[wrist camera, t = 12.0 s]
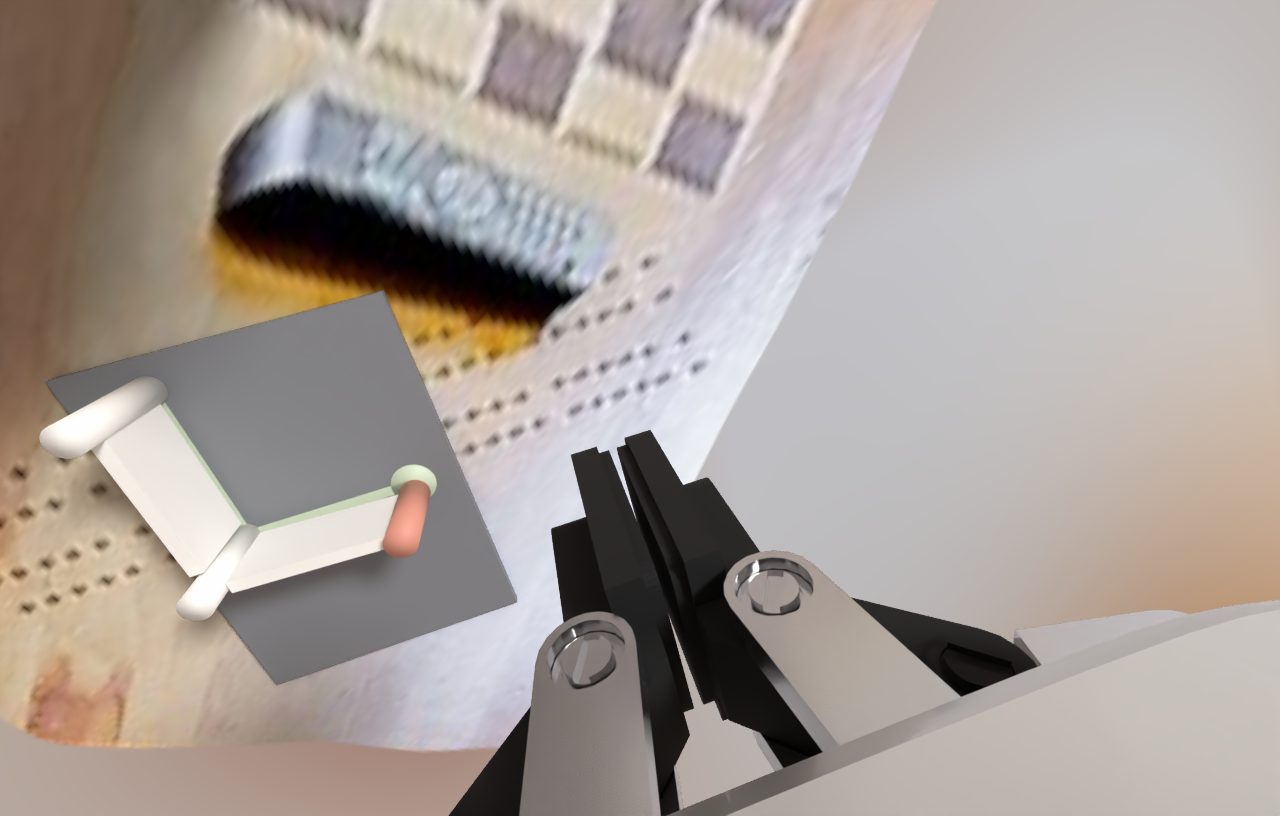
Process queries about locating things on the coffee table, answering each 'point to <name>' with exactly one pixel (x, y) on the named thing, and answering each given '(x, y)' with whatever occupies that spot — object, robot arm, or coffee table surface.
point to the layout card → (323, 475)
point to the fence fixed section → (160, 485)
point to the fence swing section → (336, 538)
